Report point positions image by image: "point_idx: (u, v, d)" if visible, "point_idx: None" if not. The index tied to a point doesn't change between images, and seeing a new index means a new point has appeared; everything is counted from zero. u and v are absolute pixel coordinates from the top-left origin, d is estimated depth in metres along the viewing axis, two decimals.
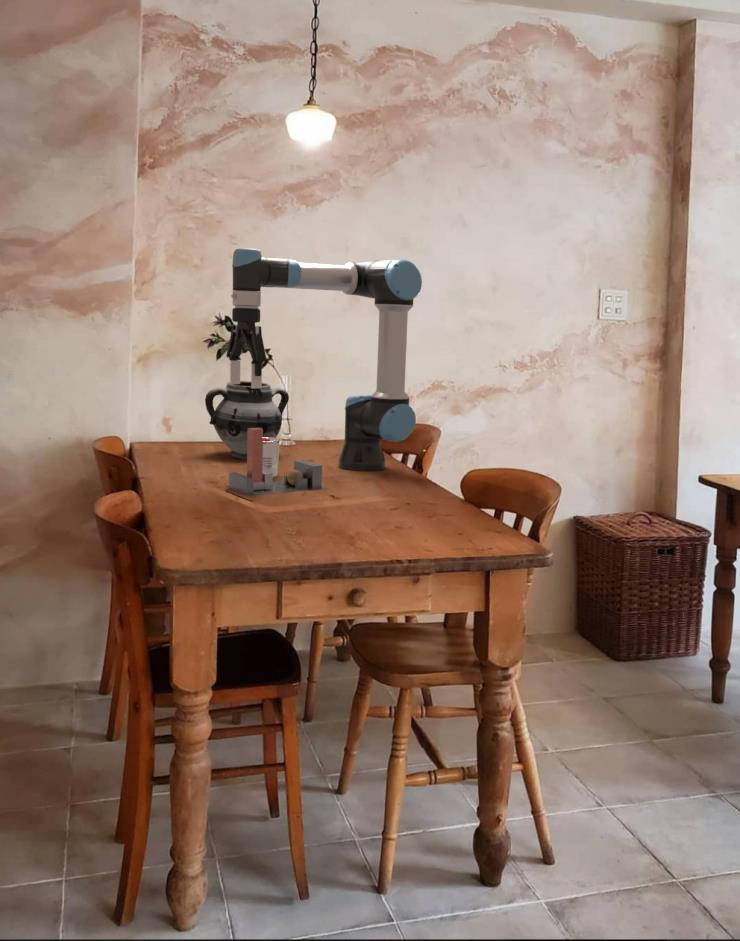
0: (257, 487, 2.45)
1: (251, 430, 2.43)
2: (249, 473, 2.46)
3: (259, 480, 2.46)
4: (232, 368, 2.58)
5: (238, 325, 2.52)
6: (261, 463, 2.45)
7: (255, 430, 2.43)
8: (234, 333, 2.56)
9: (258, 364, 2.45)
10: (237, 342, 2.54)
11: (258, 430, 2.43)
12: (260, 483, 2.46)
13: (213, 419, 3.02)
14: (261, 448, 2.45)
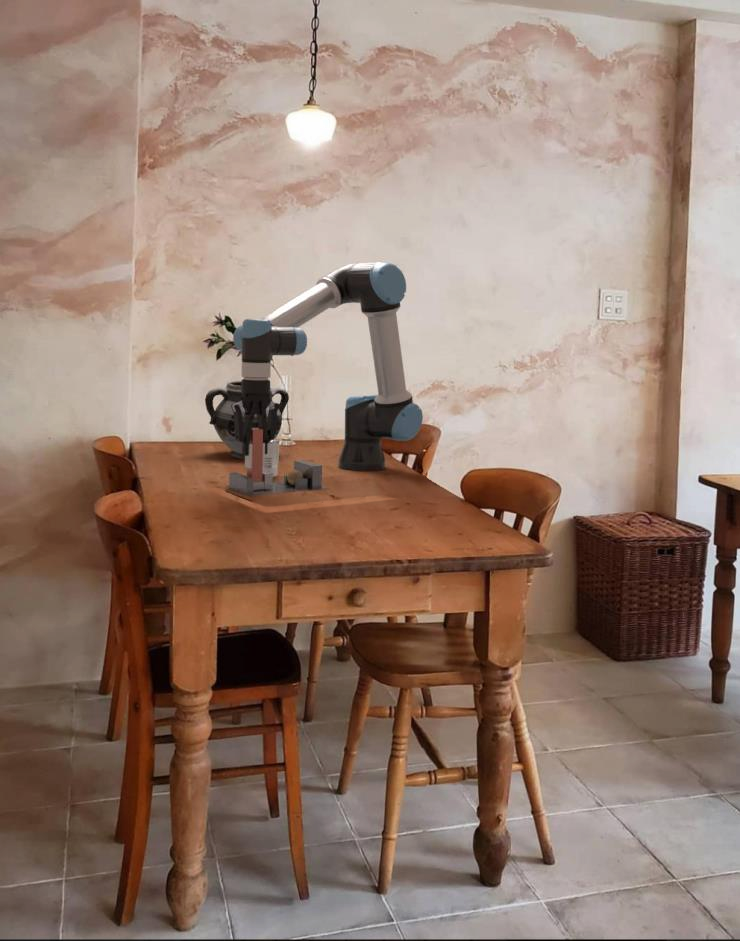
0: (257, 487, 2.45)
1: None
2: (249, 473, 2.46)
3: (259, 480, 2.46)
4: None
5: None
6: (261, 463, 2.45)
7: (255, 430, 2.43)
8: (269, 410, 2.47)
9: (242, 443, 2.43)
10: (257, 416, 2.45)
11: (258, 430, 2.43)
12: (260, 483, 2.46)
13: (213, 419, 3.02)
14: (261, 448, 2.45)
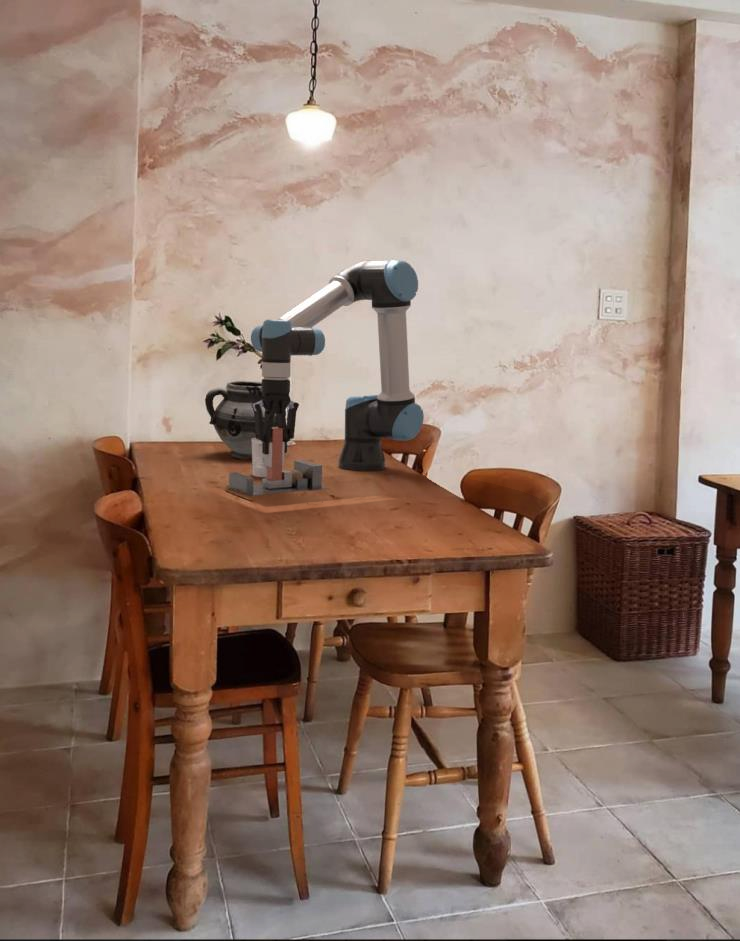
0: (277, 485, 2.49)
1: None
2: (269, 471, 2.49)
3: (279, 478, 2.49)
4: None
5: None
6: (281, 462, 2.49)
7: (275, 429, 2.46)
8: (289, 409, 2.50)
9: (262, 442, 2.47)
10: (277, 415, 2.49)
11: (278, 429, 2.47)
12: (280, 481, 2.49)
13: (213, 419, 3.02)
14: (281, 447, 2.48)
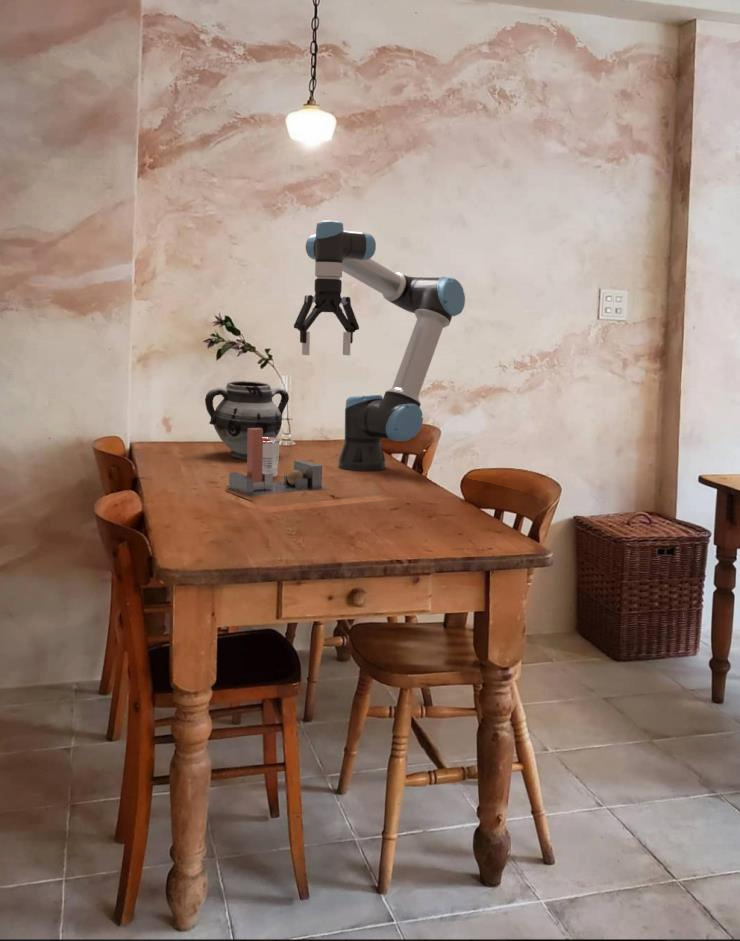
0: (257, 487, 2.45)
1: (251, 430, 2.43)
2: (249, 473, 2.46)
3: (259, 480, 2.46)
4: (343, 339, 2.65)
5: None
6: (261, 463, 2.45)
7: (255, 430, 2.43)
8: (343, 305, 2.63)
9: (300, 331, 2.56)
10: (334, 313, 2.62)
11: (258, 430, 2.43)
12: (260, 483, 2.46)
13: (213, 419, 3.02)
14: (261, 448, 2.45)
